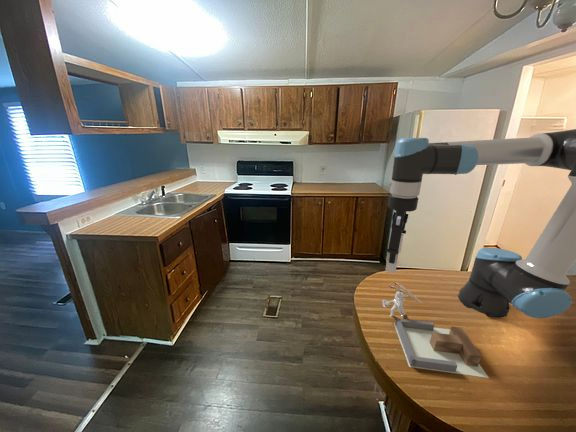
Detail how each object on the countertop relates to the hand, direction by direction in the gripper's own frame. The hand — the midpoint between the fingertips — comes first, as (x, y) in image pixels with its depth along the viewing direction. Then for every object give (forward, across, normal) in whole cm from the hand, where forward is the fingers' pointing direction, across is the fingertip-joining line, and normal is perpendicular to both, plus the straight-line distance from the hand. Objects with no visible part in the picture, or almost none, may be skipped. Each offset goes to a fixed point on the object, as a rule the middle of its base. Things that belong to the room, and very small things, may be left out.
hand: (393, 260), depth 72 cm
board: (+25, +3, +15) cm, 30 cm away
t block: (+24, +2, +19) cm, 31 cm away
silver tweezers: (+26, -21, +7) cm, 34 cm away
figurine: (+25, -4, +3) cm, 26 cm away
